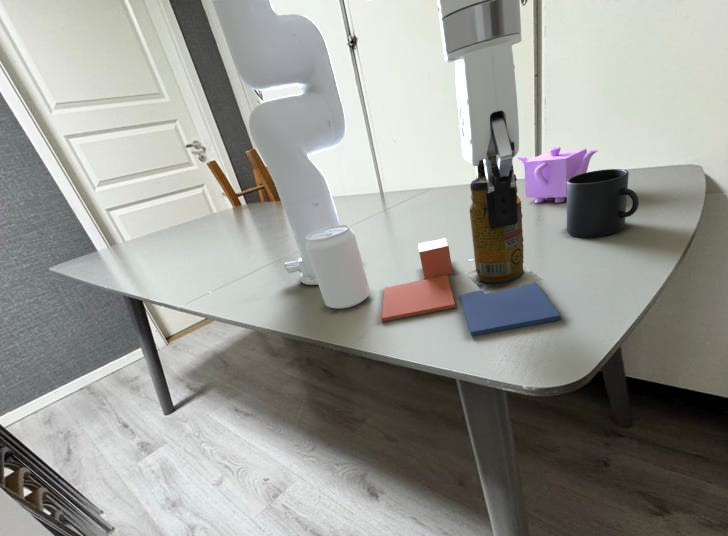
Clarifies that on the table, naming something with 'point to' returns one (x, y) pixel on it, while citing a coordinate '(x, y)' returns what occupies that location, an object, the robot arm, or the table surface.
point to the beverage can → (338, 266)
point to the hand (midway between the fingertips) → (497, 217)
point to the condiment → (496, 247)
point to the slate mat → (507, 309)
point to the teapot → (553, 172)
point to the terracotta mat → (417, 298)
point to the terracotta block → (435, 258)
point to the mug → (598, 202)
